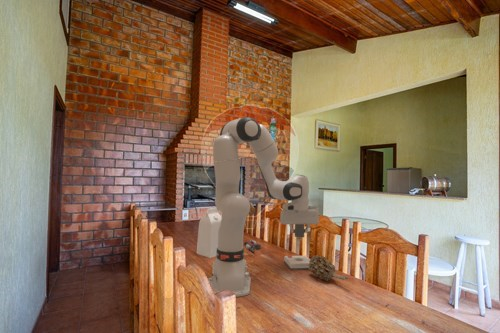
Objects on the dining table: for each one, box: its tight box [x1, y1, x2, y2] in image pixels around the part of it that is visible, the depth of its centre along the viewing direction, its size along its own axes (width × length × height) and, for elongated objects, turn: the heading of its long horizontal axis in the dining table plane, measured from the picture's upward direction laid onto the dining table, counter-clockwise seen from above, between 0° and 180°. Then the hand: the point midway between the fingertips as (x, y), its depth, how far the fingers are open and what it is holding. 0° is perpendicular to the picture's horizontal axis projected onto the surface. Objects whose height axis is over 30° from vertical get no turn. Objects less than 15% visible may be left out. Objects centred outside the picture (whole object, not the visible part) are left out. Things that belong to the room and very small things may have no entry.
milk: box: [195, 207, 222, 259], centre depth 158 cm, size 12×12×26 cm
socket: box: [283, 255, 311, 271], centre depth 141 cm, size 12×12×4 cm
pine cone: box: [308, 254, 349, 282], centre depth 121 cm, size 22×10×10 cm, turn 36°
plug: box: [294, 224, 305, 241], centre depth 141 cm, size 6×5×8 cm
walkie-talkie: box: [243, 239, 262, 253], centre depth 170 cm, size 9×4×20 cm
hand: (299, 232), depth 141 cm, fingers closed on plug, 5 cm apart
